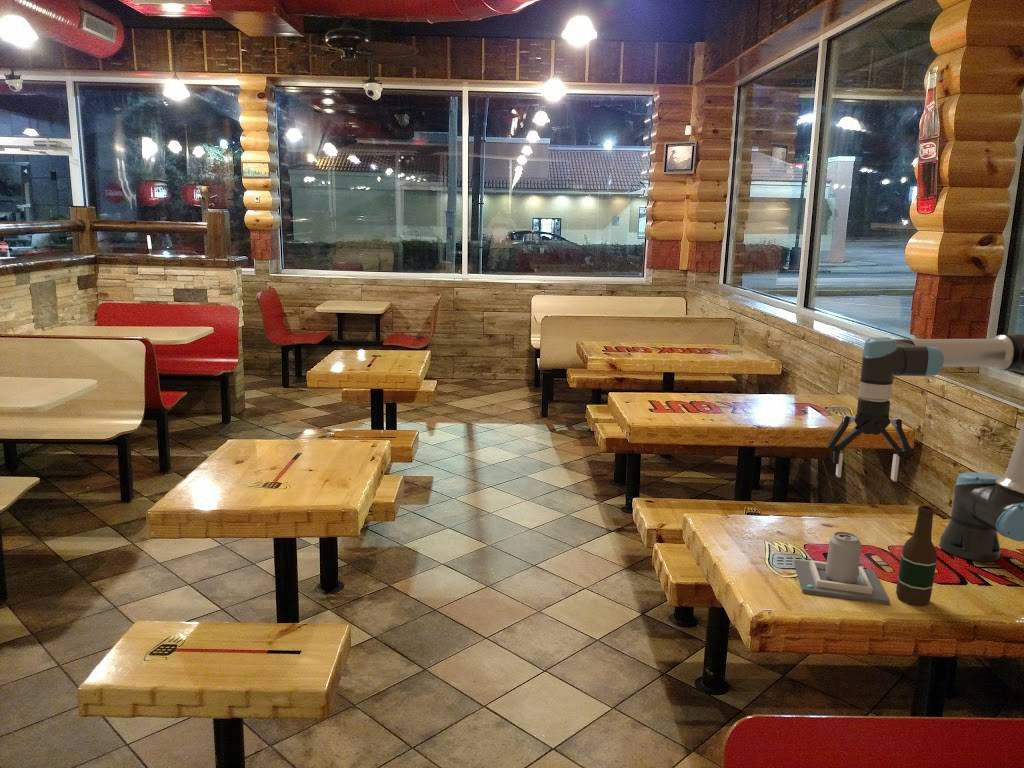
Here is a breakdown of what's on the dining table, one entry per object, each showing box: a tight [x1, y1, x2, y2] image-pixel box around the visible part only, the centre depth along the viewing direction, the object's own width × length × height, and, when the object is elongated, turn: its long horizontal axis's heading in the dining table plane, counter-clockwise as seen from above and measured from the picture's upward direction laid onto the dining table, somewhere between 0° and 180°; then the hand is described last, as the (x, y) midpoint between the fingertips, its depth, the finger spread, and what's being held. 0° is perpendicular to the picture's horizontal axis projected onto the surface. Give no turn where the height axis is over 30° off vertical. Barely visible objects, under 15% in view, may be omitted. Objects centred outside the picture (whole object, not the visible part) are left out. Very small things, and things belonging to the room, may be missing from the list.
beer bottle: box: [895, 505, 938, 607], centre depth 189 cm, size 8×8×24 cm
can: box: [825, 530, 863, 584], centre depth 198 cm, size 8×8×12 cm
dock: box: [793, 559, 891, 605], centre depth 199 cm, size 20×18×2 cm
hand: (865, 477), depth 203 cm, fingers open, 13 cm apart
